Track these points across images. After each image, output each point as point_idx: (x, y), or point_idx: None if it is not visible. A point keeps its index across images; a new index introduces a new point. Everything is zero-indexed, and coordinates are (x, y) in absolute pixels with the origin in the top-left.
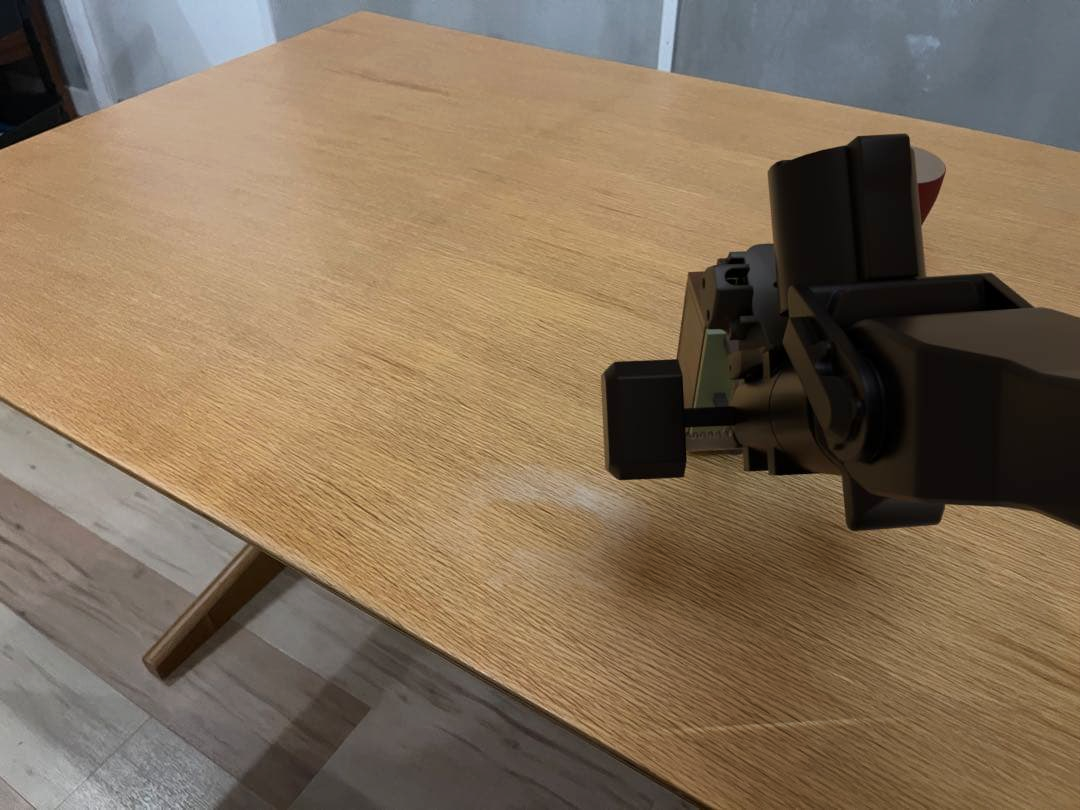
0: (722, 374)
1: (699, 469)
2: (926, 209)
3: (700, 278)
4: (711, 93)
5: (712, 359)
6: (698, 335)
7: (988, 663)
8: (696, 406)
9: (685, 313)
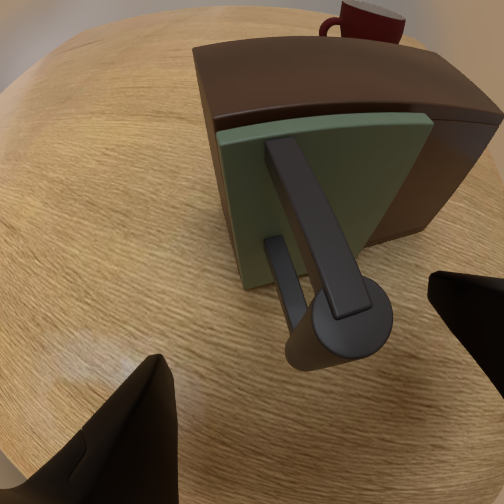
0: (273, 212)
1: (260, 311)
2: (399, 38)
3: (210, 50)
4: (243, 8)
5: (247, 194)
6: (214, 144)
7: (492, 442)
8: (239, 257)
9: (203, 109)
